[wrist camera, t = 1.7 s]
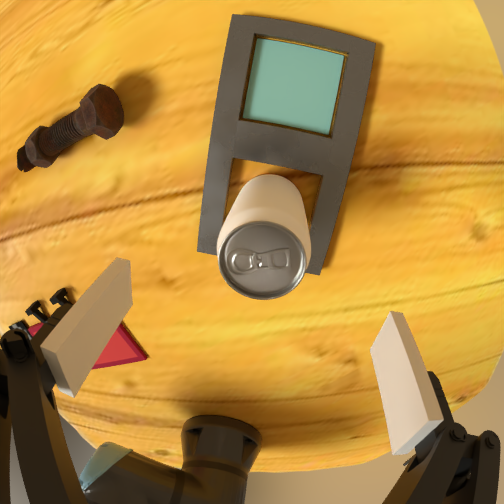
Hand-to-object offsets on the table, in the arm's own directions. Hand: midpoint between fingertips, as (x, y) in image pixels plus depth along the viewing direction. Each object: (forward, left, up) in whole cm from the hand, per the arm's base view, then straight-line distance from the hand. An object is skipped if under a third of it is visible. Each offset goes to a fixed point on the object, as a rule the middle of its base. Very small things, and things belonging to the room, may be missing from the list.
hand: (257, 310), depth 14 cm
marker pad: (+12, 0, -17) cm, 21 cm away
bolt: (+5, +24, -18) cm, 30 cm away
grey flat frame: (+6, 0, -17) cm, 18 cm away
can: (0, 0, -17) cm, 17 cm away
